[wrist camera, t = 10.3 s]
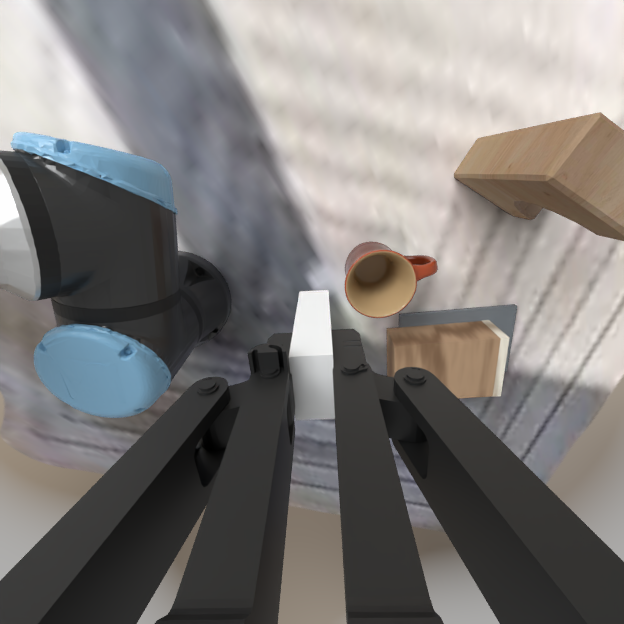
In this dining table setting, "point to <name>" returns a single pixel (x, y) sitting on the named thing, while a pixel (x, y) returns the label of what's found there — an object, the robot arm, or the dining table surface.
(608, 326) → the dining table surface
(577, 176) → the decorative block
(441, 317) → the mat
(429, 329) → the brown and cream block
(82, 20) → the dining table surface
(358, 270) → the mug
